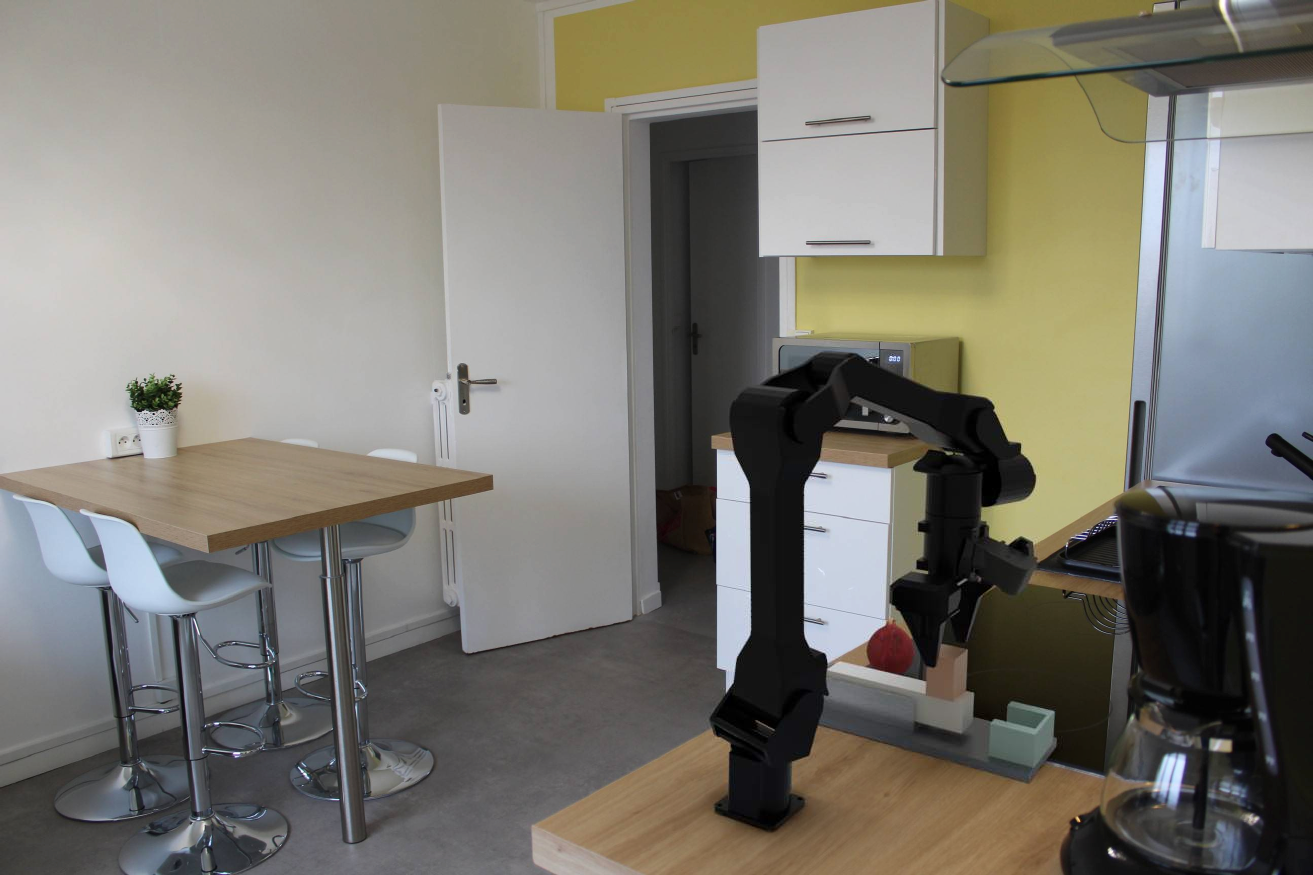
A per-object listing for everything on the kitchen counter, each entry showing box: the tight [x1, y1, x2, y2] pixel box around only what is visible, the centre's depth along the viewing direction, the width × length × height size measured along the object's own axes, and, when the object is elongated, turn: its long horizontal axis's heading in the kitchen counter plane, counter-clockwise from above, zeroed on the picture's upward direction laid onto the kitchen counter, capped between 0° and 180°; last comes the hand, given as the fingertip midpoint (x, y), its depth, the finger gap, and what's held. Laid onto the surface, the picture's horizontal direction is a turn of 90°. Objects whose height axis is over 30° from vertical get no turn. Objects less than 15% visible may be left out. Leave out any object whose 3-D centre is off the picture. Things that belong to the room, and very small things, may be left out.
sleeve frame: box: [818, 662, 1058, 784], centre depth 111 cm, size 10×26×4 cm, turn 54°
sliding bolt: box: [826, 643, 975, 733], centre depth 113 cm, size 4×16×8 cm, turn 54°
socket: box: [989, 701, 1056, 768], centre depth 105 cm, size 7×4×4 cm, turn 144°
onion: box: [866, 617, 915, 676], centre depth 126 cm, size 6×6×8 cm
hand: (946, 654), depth 109 cm, fingers open, 9 cm apart
